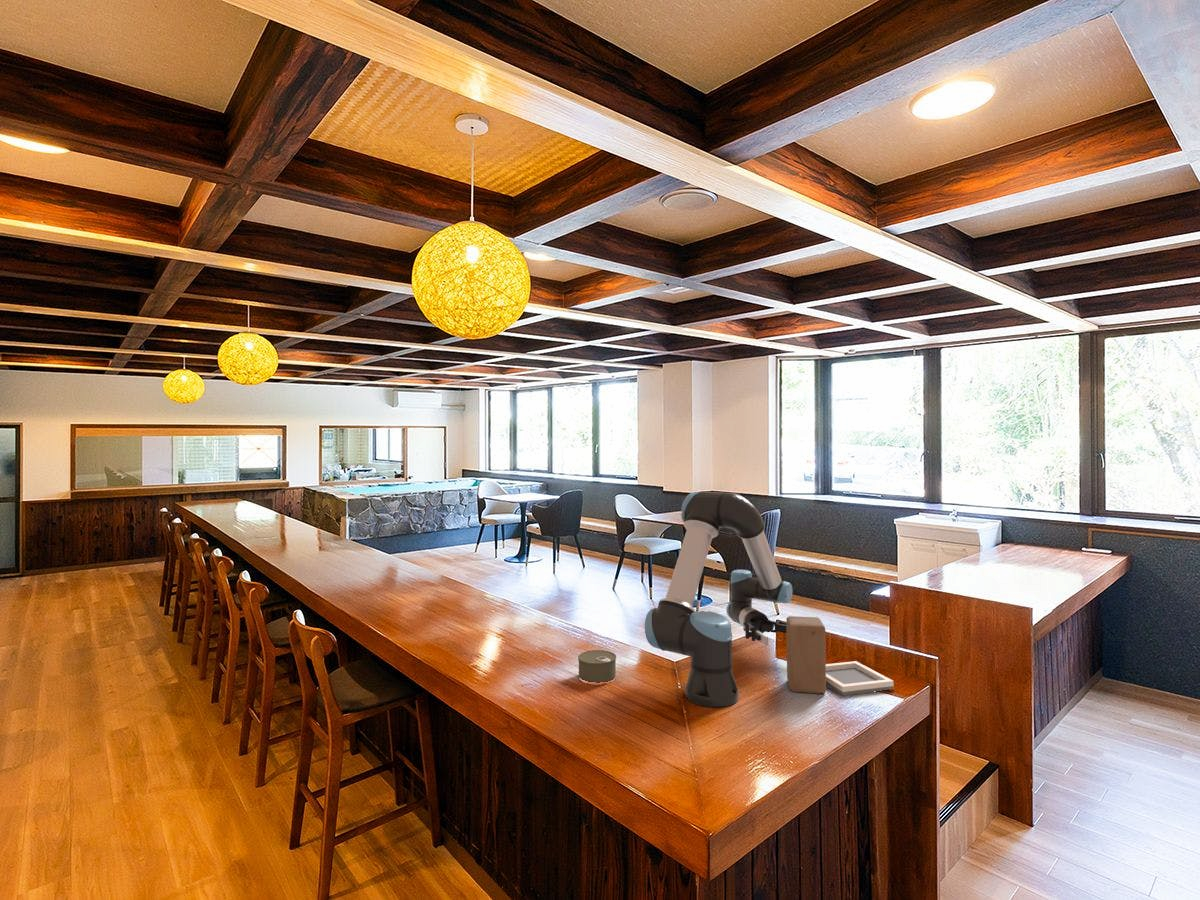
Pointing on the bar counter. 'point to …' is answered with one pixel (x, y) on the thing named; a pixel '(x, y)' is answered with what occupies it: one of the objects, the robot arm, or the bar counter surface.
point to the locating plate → (855, 679)
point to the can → (597, 666)
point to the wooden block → (806, 654)
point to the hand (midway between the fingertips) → (786, 639)
